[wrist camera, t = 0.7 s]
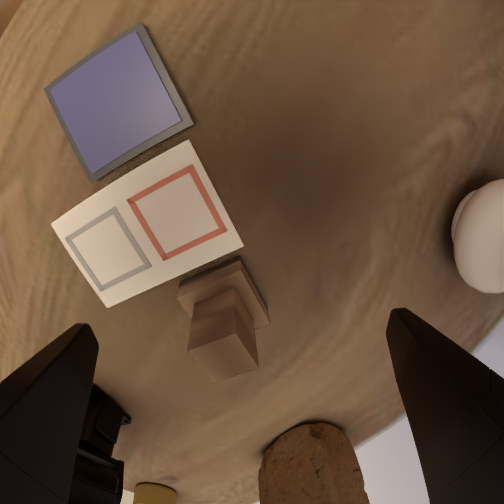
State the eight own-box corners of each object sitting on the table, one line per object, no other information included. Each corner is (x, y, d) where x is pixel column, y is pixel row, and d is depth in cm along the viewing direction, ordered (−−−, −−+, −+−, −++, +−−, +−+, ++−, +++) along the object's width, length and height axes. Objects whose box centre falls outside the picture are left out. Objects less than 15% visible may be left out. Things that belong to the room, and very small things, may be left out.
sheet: (108, 306, 24) (107, 308, 23) (51, 223, 20) (49, 224, 20) (243, 245, 22) (243, 246, 22) (188, 139, 19) (188, 139, 19)
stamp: (211, 328, 25) (208, 395, 19) (180, 281, 23) (165, 345, 17) (267, 305, 25) (278, 371, 18) (239, 255, 23) (243, 314, 16)
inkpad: (97, 180, 19) (89, 184, 18) (51, 88, 16) (41, 88, 15) (195, 123, 18) (193, 124, 17) (145, 25, 15) (139, 20, 14)
